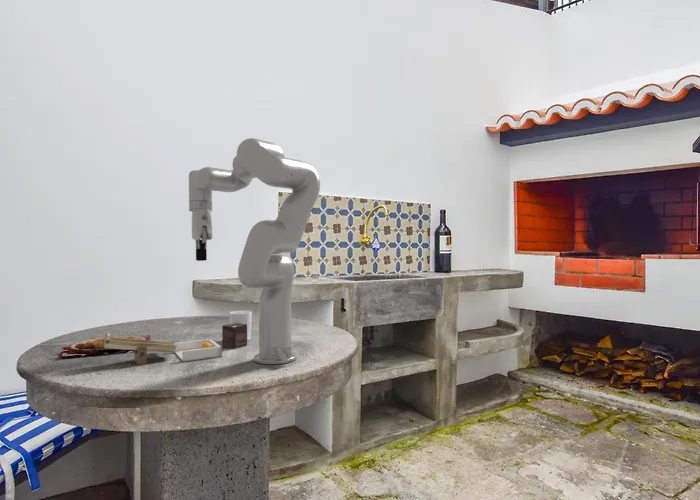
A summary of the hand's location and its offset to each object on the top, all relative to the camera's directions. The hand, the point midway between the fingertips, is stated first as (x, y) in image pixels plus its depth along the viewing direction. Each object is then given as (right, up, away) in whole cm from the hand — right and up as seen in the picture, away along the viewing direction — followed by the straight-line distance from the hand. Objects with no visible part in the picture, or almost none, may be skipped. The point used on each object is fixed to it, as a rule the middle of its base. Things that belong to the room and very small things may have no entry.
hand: (201, 260), depth 157 cm
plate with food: (-31, -30, -2) cm, 43 cm away
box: (+12, -29, -2) cm, 32 cm away
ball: (+5, -27, -12) cm, 30 cm away
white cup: (+12, -29, +9) cm, 32 cm away
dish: (+3, -29, -13) cm, 32 cm away
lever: (-13, -26, -19) cm, 34 cm away
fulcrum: (-11, -30, -21) cm, 38 cm away
